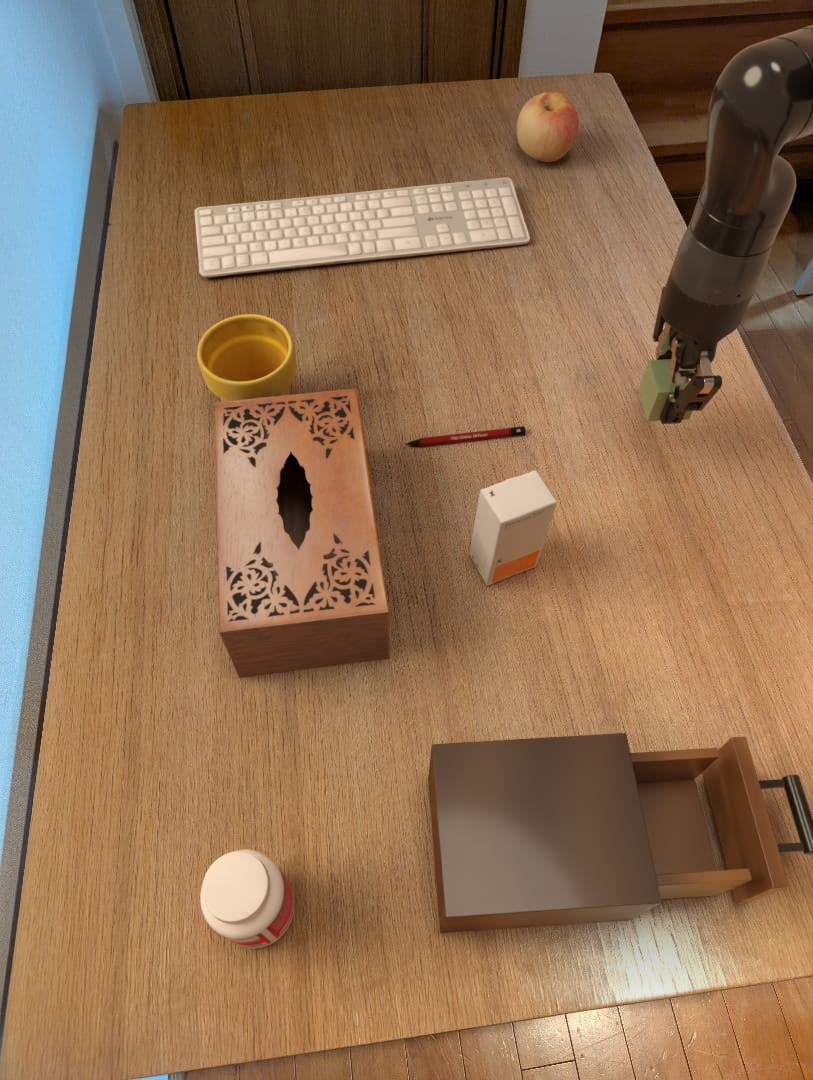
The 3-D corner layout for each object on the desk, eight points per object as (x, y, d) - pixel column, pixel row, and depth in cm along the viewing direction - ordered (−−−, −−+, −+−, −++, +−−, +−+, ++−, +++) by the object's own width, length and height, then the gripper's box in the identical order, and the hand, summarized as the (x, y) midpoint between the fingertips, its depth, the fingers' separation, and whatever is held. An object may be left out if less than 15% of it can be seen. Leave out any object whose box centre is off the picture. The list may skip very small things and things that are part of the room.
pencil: (403, 444, 93) (403, 438, 92) (522, 430, 94) (524, 424, 93) (404, 450, 93) (404, 444, 92) (524, 436, 94) (525, 430, 93)
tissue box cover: (231, 462, 91) (214, 402, 83) (360, 448, 92) (356, 388, 84) (239, 677, 78) (219, 632, 69) (389, 658, 79) (388, 611, 70)
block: (679, 387, 89) (691, 358, 85) (689, 419, 86) (702, 390, 83) (638, 389, 89) (648, 359, 85) (647, 421, 86) (658, 392, 83)
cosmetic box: (486, 588, 83) (499, 524, 73) (468, 555, 85) (477, 488, 75) (539, 567, 84) (558, 501, 74) (519, 535, 87) (536, 467, 76)
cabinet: (601, 767, 74) (626, 732, 65) (629, 920, 67) (661, 903, 59) (428, 777, 73) (431, 744, 65) (439, 933, 66) (445, 917, 58)
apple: (558, 132, 125) (567, 79, 118) (582, 166, 120) (592, 113, 113) (504, 142, 123) (510, 89, 116) (526, 177, 119) (534, 124, 112)
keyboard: (201, 282, 106) (197, 267, 104) (197, 221, 113) (193, 206, 111) (530, 246, 111) (533, 231, 109) (509, 189, 117) (511, 174, 115)
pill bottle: (274, 853, 70) (255, 823, 60) (309, 920, 67) (294, 900, 57) (207, 895, 68) (176, 870, 58) (240, 966, 65) (213, 952, 56)
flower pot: (196, 423, 94) (176, 363, 86) (243, 364, 99) (229, 301, 91) (274, 455, 92) (262, 396, 84) (318, 392, 97) (311, 330, 88)
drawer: (766, 761, 73) (802, 732, 67) (806, 899, 67) (851, 882, 61) (553, 774, 72) (568, 746, 66) (575, 914, 66) (594, 900, 60)
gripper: (781, 328, 69) (716, 453, 84) (734, 220, 77) (682, 352, 91) (693, 332, 69) (643, 457, 83) (655, 223, 77) (615, 355, 91)
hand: (664, 402), depth 87 cm, fingers closed on block, 4 cm apart
